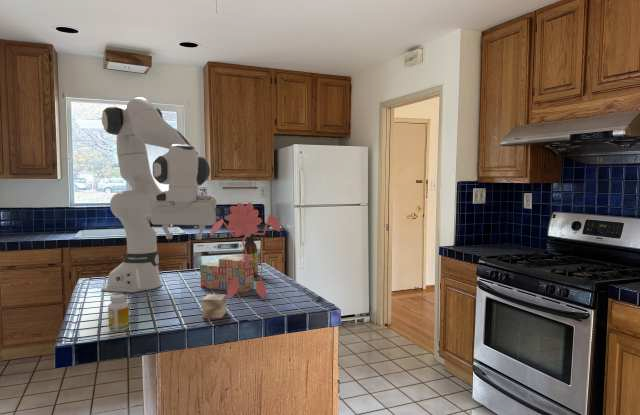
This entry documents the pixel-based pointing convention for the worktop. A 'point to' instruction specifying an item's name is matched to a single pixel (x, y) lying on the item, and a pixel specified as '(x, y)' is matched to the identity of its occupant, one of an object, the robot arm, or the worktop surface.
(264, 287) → the coral stemmed figure
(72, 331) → the worktop surface
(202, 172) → the robot arm
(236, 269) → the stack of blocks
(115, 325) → the supplement bottle
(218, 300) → the maple cube
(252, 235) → the sauce bottle
